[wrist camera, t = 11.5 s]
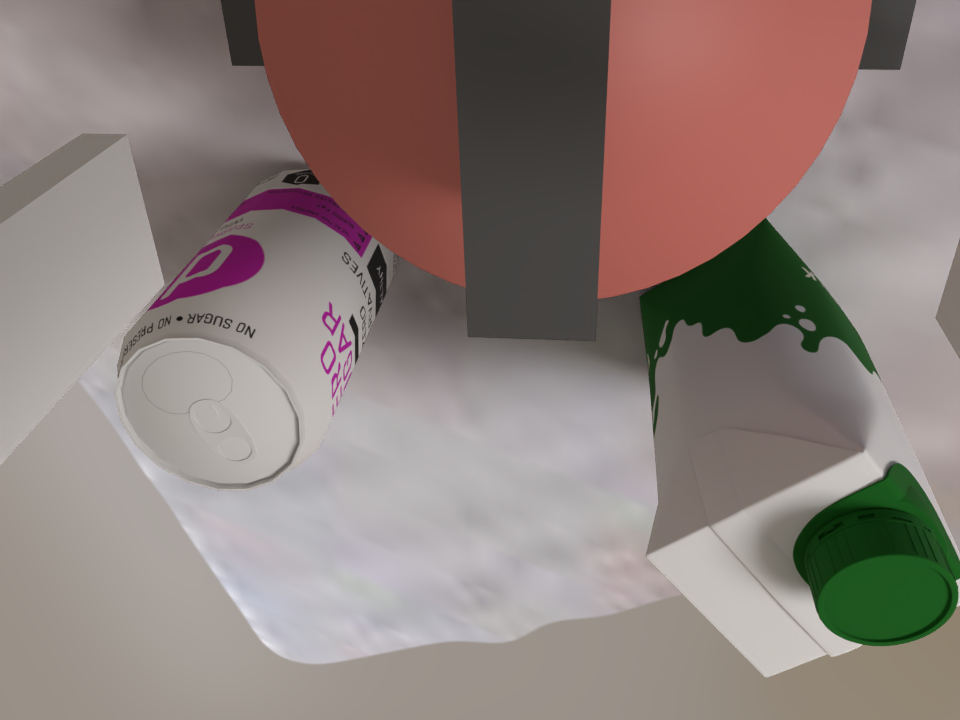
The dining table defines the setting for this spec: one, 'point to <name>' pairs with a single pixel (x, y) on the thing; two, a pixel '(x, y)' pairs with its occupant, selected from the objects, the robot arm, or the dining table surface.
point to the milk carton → (786, 466)
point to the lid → (559, 134)
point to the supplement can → (254, 339)
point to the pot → (880, 52)
